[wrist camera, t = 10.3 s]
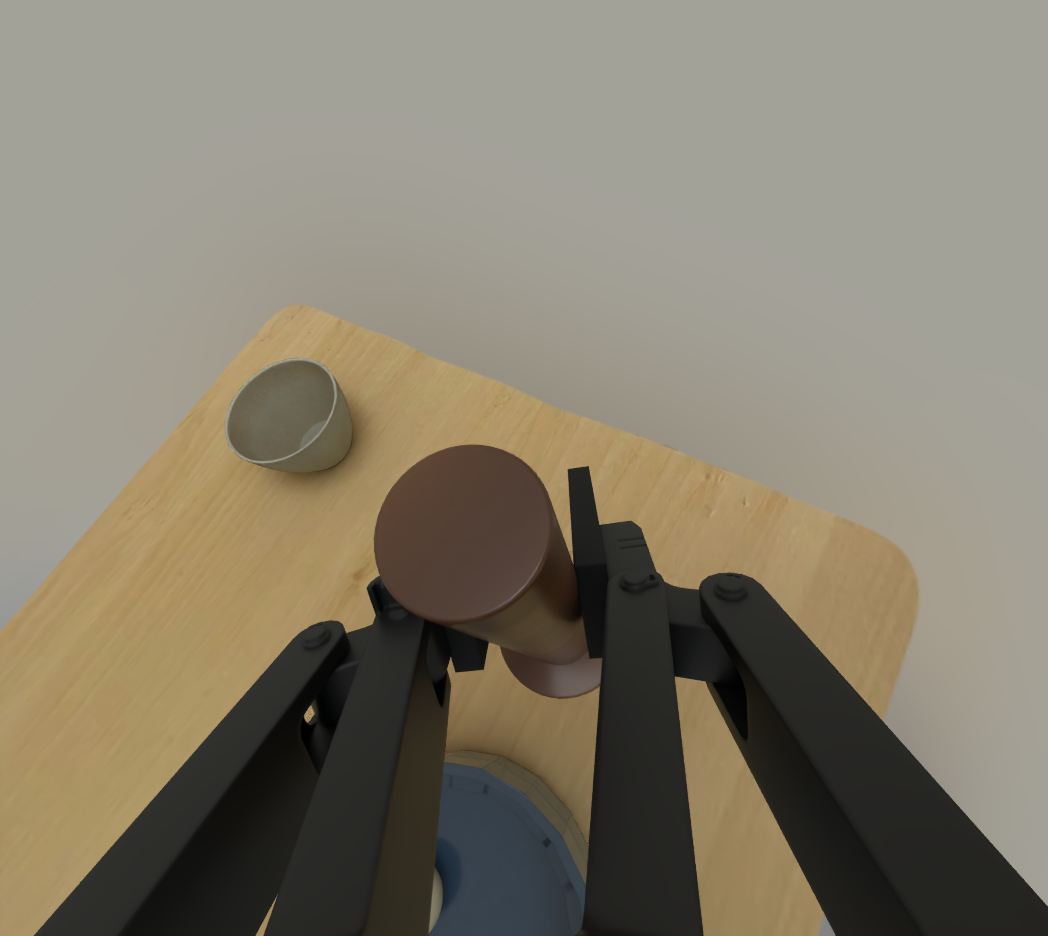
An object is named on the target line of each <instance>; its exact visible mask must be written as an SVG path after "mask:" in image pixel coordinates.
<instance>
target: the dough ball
mask: <svg viewBox="0 0 1048 936" xmlns="http://www.w3.org/2000/svg"><path fill="white" fill-rule="evenodd" d="M442 902H443V887H442V881H441V878H440V875H439V873H438V871H437V869H436V868H435V869H434V880H433V891H432V902H431V913H430V924H429V933H430V931H431V930H432V929H433V927H434V925H435V924H436V922H437V920H438V917H439V914H440V911H441V907H442Z"/></svg>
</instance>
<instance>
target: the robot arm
mask: <svg viewBox="0 0 1048 936" xmlns="http://www.w3.org/2000/svg"><path fill="white" fill-rule="evenodd" d="M568 481H569V497H570V513H571V529H572V546H573V562H574V569H575V572H576V577H577V583H578V594H579V600H580V606H581V612H582V618H583V624H584V630H585V636H586V641H587V647H588V653H589V659H595V658H602V668H601V682H600V695H599V709H598V723H597V737H596V751H595V765H594V779H593V793H592V807H591V820H590V834H589V848H588V862H587V876H586V890H585V904H584V915H583V922H582V927H581V930H580V931H579V932H578V933H577V934H576V935H575V936H704V935H703V926H702V917H701V908H700V899H699V891H698V882H697V873H696V864H695V855H694V846H693V837H692V828H691V819H690V810H689V801H688V792H687V783H686V774H685V765H684V756H683V747H682V738H681V729H680V720H679V711H678V702H677V693H676V685H675V676H676V677H682V678H688V679H694V680H701V681H706V683H707V687H708V689H709V691H710V693H711V695H712V697H713V699H714V701H715V703H716V705H717V707H718V709H719V711H720V713H721V715H722V716H723V718H724V720H725V722H726V724H727V726H728V728H729V730H730V732H731V734H732V736H733V738H734V740H735V742H736V744H737V745H738V747H739V749H740V751H741V753H742V755H743V757H744V759H745V761H746V763H747V765H748V767H749V769H750V771H751V773H752V774H753V776H754V778H755V780H756V782H757V784H758V786H759V788H760V790H761V792H762V794H763V796H764V798H765V800H766V802H767V804H768V805H769V807H770V809H771V811H772V813H773V815H774V817H775V819H776V821H777V823H778V825H779V827H780V829H781V831H782V833H783V834H784V836H785V838H786V840H787V842H788V844H789V846H790V848H791V850H792V852H793V854H794V856H795V858H796V860H797V862H798V863H799V865H800V867H801V869H802V871H803V873H804V875H805V877H806V879H807V881H808V883H809V885H810V887H811V889H812V891H813V893H814V894H815V896H816V898H817V900H818V902H819V904H820V906H821V908H822V910H823V912H824V914H825V916H826V918H827V920H828V922H829V923H830V925H831V927H832V929H833V931H834V933H835V935H836V936H1048V906H1047V905H1046V904H1045V903H1044V902H1043V901H1042V900H1041V899H1040V897H1039V896H1038V895H1037V894H1036V893H1035V892H1034V891H1033V889H1032V888H1031V887H1030V886H1029V885H1028V884H1027V883H1026V882H1025V880H1024V879H1023V878H1022V877H1021V876H1020V875H1019V874H1018V873H1017V871H1016V870H1015V869H1014V868H1013V867H1012V866H1011V865H1010V864H1009V862H1007V860H1006V859H1005V858H1004V857H1003V856H1002V855H1001V853H1000V852H999V851H998V850H997V849H996V848H995V847H994V846H993V845H992V843H991V842H990V841H989V840H988V839H987V838H986V837H985V836H984V834H983V833H982V832H981V831H980V830H979V829H978V828H977V827H976V826H975V824H974V823H973V822H972V821H971V820H970V819H969V818H968V816H967V815H966V814H965V813H964V812H963V811H962V810H961V809H960V807H959V806H958V805H957V804H956V803H955V802H954V801H953V800H952V798H951V797H950V796H949V795H948V794H947V793H946V792H945V791H944V790H943V788H942V787H941V786H940V785H939V784H938V783H937V782H936V781H935V779H934V778H933V777H932V776H931V775H930V774H929V773H928V772H927V771H926V769H925V768H924V767H923V766H922V765H921V764H920V763H919V761H918V760H917V759H916V758H915V757H914V756H913V755H912V754H911V752H910V751H909V750H908V749H907V748H906V747H905V746H904V745H903V743H901V741H900V740H899V739H898V738H897V737H896V736H895V735H894V733H893V732H892V731H891V730H890V729H889V728H888V727H887V725H886V724H885V723H884V722H883V721H882V720H881V719H880V718H879V716H878V715H877V714H876V713H875V712H874V711H873V710H872V709H871V708H870V706H869V705H868V704H867V703H866V702H865V701H864V700H863V699H862V697H861V696H860V695H859V694H858V693H857V692H856V691H855V690H854V688H853V687H852V686H851V685H850V684H849V683H848V682H847V681H846V679H845V678H844V677H843V676H842V675H841V674H840V673H839V672H838V670H837V669H836V668H835V667H834V666H833V665H832V664H831V663H830V661H829V660H828V659H827V658H826V657H825V656H824V655H823V654H822V652H821V651H820V650H819V649H818V648H817V647H816V646H815V645H814V643H813V642H812V641H811V640H810V639H809V638H808V637H807V636H806V635H805V633H804V632H803V631H802V630H801V629H800V628H799V627H798V626H797V624H796V623H795V622H794V621H793V620H792V619H791V618H790V617H789V615H788V614H787V613H786V612H785V611H784V610H783V609H782V608H781V606H780V605H779V604H778V603H777V602H776V601H775V600H774V599H773V597H772V596H771V595H770V594H769V593H768V592H767V591H766V590H765V588H764V587H763V586H762V585H761V584H760V583H758V582H757V581H756V580H754V579H753V578H751V577H748V576H745V575H743V574H737V573H718V574H715V575H712V576H708V577H707V578H706V579H704V580H703V581H702V582H701V584H700V587H699V590H696V589H686V588H679V587H676V586H672V585H670V584H668V583H666V582H664V580H663V578H662V576H661V575H660V574H659V573H657V572H656V569H655V566H654V564H653V561H652V558H651V555H650V552H649V549H648V547H647V544H646V541H645V539H644V535H643V532H642V530H641V528H640V527H639V526H638V525H636V524H635V523H634V522H632V521H626V522H618V523H611V524H603V525H599V521H598V515H597V510H596V504H595V499H594V493H593V488H592V482H591V477H590V471H589V466H586V467H579V468H573V469H568ZM367 591H368V594H369V597H370V600H371V602H372V605H373V608H374V611H375V614H376V617H375V619H374V622H373V624H372V625H370V626H367V627H365V628H361V629H358V630H355V631H352V632H349V633H346V631H345V628H344V626H343V624H342V623H340V622H339V621H331V620H330V621H325V622H319V623H316V624H314V625H311V626H310V627H308V628H307V629H305V630H303V631H302V632H300V633H299V634H298V635H297V636H296V637H295V638H294V639H293V640H292V641H291V642H290V643H289V644H288V645H287V647H286V648H285V649H284V650H283V651H282V652H281V653H280V655H279V656H278V657H277V658H276V659H275V660H274V662H273V663H272V664H271V665H270V666H269V667H268V668H267V670H266V671H265V672H264V673H263V674H262V675H261V676H260V678H259V679H258V680H257V681H256V682H255V683H254V684H253V686H252V687H251V688H250V689H249V690H248V691H247V692H246V694H245V695H244V696H243V697H242V698H241V699H240V700H239V702H238V703H237V704H236V705H235V706H234V707H233V708H232V710H231V711H230V712H229V713H228V714H227V715H226V716H225V718H224V719H223V720H222V721H221V722H220V723H219V724H218V726H217V727H216V728H215V729H214V730H213V731H212V732H211V734H210V735H209V736H208V737H207V738H206V739H205V740H204V742H203V743H202V744H201V745H200V746H199V747H198V748H197V750H196V751H195V752H194V753H193V754H192V755H191V756H190V758H189V759H188V760H187V761H186V762H185V763H184V764H183V766H182V767H181V768H180V769H179V770H178V771H177V773H176V774H175V775H174V776H173V777H172V778H171V779H170V781H169V782H168V783H167V784H166V785H165V786H164V787H163V789H162V790H161V791H160V792H159V793H158V794H157V795H156V797H155V798H154V799H153V800H152V801H151V802H150V803H149V805H148V806H147V807H146V808H145V809H144V810H143V811H142V813H141V814H140V815H139V816H138V817H137V818H136V819H135V821H134V822H133V823H132V824H131V825H130V826H129V827H128V829H127V830H126V831H125V832H124V833H123V834H122V835H121V837H120V838H119V839H118V840H117V841H116V842H115V843H114V845H113V846H112V847H111V848H110V849H109V850H108V851H107V853H106V854H105V855H104V856H103V857H102V858H101V859H100V861H99V862H98V863H97V864H96V865H95V866H94V867H93V869H92V870H91V871H90V872H89V873H88V874H87V875H86V877H85V878H84V879H83V880H82V881H81V882H80V884H79V885H78V886H77V887H76V888H75V889H74V890H73V892H72V893H71V894H70V895H69V896H68V897H67V898H66V900H65V901H64V902H63V903H62V904H61V905H60V906H59V908H58V909H57V910H56V911H55V912H54V913H53V914H52V916H51V917H50V918H49V919H48V920H47V921H46V922H45V924H44V925H43V926H42V927H41V928H40V929H39V930H38V932H37V933H36V934H35V935H34V936H255V935H256V934H257V932H258V930H259V928H260V926H261V924H262V922H263V921H264V919H265V917H266V915H267V913H268V911H269V909H270V907H271V906H272V904H273V902H274V900H275V898H276V896H277V894H278V896H277V899H276V902H275V904H274V907H273V910H272V913H271V916H270V919H269V922H268V924H267V927H266V930H265V933H264V936H428V935H429V924H430V913H431V902H432V891H433V880H434V869H435V858H436V847H437V836H438V825H439V813H440V802H441V791H442V780H443V769H444V758H445V747H446V736H447V725H448V714H449V702H450V691H451V683H450V678H449V674H448V671H447V667H448V664H449V660H450V657H451V658H452V662H453V665H454V669H455V672H466V671H476V670H484V665H485V660H486V654H487V649H488V644H489V642H487V641H484V640H482V639H479V638H476V637H473V636H470V635H467V634H465V633H462V632H459V631H456V630H453V629H450V628H447V627H445V626H442V625H439V624H436V623H433V622H430V621H428V620H425V619H423V618H420V617H418V616H416V615H414V614H413V613H411V612H409V611H408V610H406V609H405V608H404V607H403V606H402V605H400V604H399V603H398V602H397V601H396V600H395V599H394V597H393V596H392V595H391V594H390V593H389V591H388V590H387V588H386V586H385V585H384V583H383V581H382V579H381V576H378V577H377V578H375V579H374V580H373V581H371V582H370V584H369V585H368V587H367ZM310 705H311V706H312V708H313V710H314V713H315V714H314V716H313V717H312V719H311V720H310V721H309V722H308V723H307V722H306V721H305V719H304V715H305V713H306V711H307V709H308V708H309V707H310Z"/></svg>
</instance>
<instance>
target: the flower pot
mask: <svg viewBox="0 0 1048 936" xmlns="http://www.w3.org/2000/svg"><path fill="white" fill-rule="evenodd" d="M225 435H226V440H227V443H228V445H229V447H230V448H231V450H232V451H233V452H234V453H235V454H236V455H237V456H239V457H240V458H242V459H244V460H246V461H248V462H251V463H253V464H256V465H259V466H262V467H265V468H269V469H273V470H278V471H285V472H314V471H320V470H324V469H328V468H331V467H333V466H335V465H336V464H338V463H339V462H340V461H341V460H342V459H343V458H344V457H345V456H346V454H347V453H348V451H349V449H350V446H351V441H352V421H351V415H350V411H349V407H348V404H347V401H346V399H345V397H344V394H343V392H342V390H341V388H340V386H339V384H338V383H337V381H336V379H335V378H334V376H333V375H332V374H331V372H330V371H329V370H328V369H327V368H326V367H325V366H324V365H323V364H321V363H319V362H317V361H315V360H311V359H307V358H291V359H285V360H282V361H279V362H276V363H273V364H271V365H269V366H267V367H265V368H263V369H262V370H260V371H259V372H257V373H256V374H255V375H254V376H252V377H251V378H250V379H249V380H248V381H247V382H246V383H245V384H244V385H243V386H242V387H241V388H240V390H239V391H238V392H237V394H236V395H235V397H234V398H233V400H232V402H231V404H230V406H229V409H228V412H227V415H226V420H225Z"/></svg>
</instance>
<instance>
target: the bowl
mask: <svg viewBox="0 0 1048 936" xmlns="http://www.w3.org/2000/svg"><path fill="white" fill-rule="evenodd" d="M587 862H588V846H587V844H586V842H585V840H584V838H583V836H582V834H581V832H580V830H579V827H578V825H577V823H576V821H575V819H574V817H573V815H572V813H571V812H570V811H569V810H568V809H567V808H566V806H565V805H564V804H563V803H562V802H561V801H560V800H559V799H558V798H557V796H556V795H555V794H554V793H553V792H552V791H551V790H550V789H549V788H548V786H547V785H546V784H545V783H544V782H543V781H542V780H541V779H540V778H539V777H538V776H536V775H534V774H533V773H531V772H529V771H527V770H526V769H524V768H522V767H520V766H519V765H517V764H515V763H513V762H512V761H510V760H508V759H506V758H505V757H502V756H498V755H492V754H486V753H480V752H474V751H468V750H460V751H456V752H451V753H446V754H445V758H444V769H443V780H442V791H441V802H440V813H439V825H438V836H437V847H436V858H435V868H436V869H437V871H438V873H439V875H440V878H441V881H442V887H443V902H442V907H441V911H440V914H439V917H438V920H437V922H436V924H435V925H434V927H433V929H432V930H431V931H430V933H429V935H428V936H575V935H576V934H577V933H578V932H579V931H580V930H581V927H582V922H583V915H584V904H585V890H586V876H587Z"/></svg>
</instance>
